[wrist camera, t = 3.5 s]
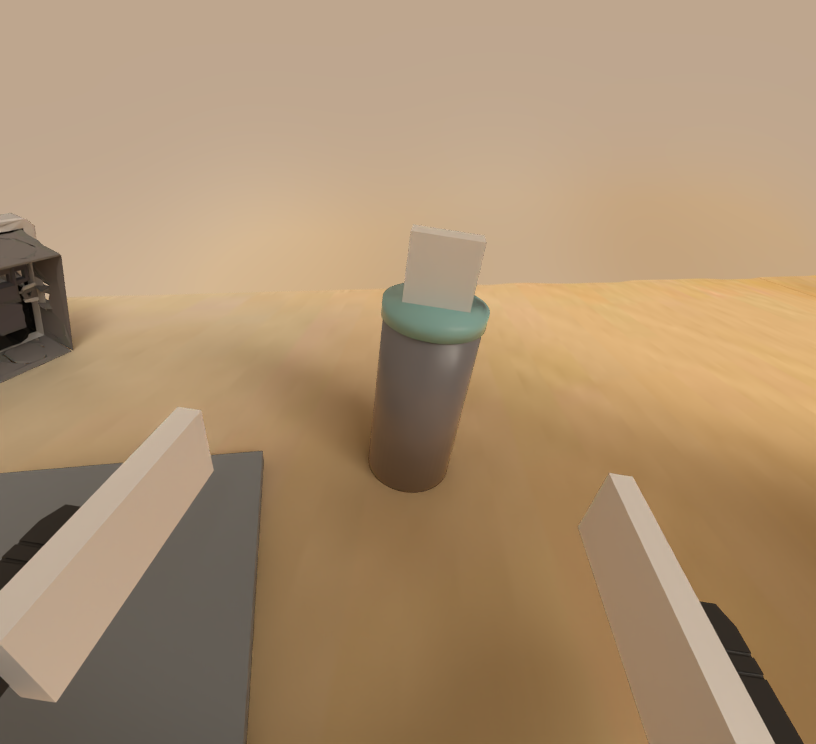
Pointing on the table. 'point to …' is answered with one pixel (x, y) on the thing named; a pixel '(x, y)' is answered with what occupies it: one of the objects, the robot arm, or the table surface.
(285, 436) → the table surface
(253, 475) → the pad
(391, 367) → the trash can
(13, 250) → the electrical switch
